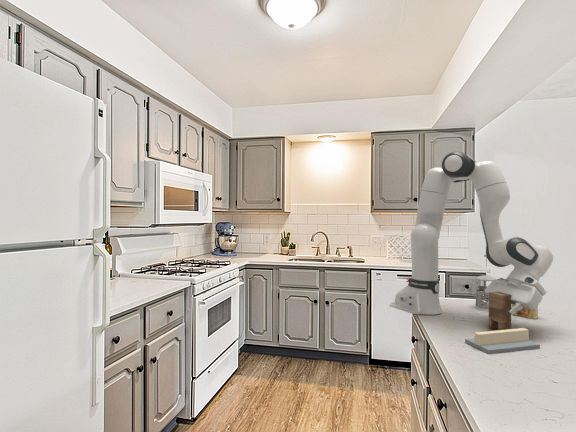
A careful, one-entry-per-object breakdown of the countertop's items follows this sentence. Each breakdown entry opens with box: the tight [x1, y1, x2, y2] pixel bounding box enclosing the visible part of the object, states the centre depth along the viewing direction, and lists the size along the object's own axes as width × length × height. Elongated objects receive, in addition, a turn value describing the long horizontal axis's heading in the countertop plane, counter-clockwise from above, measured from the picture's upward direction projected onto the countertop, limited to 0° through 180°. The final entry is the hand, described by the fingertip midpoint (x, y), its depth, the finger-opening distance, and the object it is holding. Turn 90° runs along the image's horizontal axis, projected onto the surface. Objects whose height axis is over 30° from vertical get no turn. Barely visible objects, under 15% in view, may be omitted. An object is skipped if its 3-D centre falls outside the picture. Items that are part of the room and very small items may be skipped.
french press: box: [469, 253, 497, 313], centre depth 163 cm, size 10×12×25 cm
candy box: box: [511, 304, 539, 320], centre depth 151 cm, size 9×4×15 cm, turn 44°
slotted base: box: [464, 327, 541, 355], centre depth 117 cm, size 20×10×5 cm, turn 105°
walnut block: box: [488, 292, 512, 331], centre depth 131 cm, size 4×6×14 cm
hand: (499, 309), depth 131 cm, fingers open, 8 cm apart
